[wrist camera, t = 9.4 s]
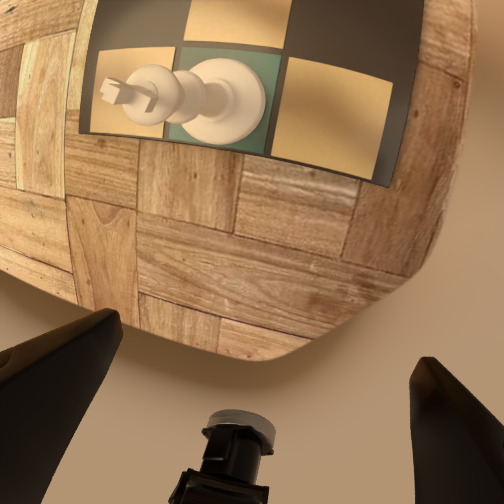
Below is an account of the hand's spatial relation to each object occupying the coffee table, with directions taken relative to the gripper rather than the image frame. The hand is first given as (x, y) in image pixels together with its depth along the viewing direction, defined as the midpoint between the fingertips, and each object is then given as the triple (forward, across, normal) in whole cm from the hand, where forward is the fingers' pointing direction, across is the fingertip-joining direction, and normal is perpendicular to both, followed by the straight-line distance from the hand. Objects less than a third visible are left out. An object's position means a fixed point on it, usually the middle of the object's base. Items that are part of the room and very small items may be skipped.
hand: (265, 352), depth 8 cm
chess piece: (+11, +4, -7) cm, 13 cm away
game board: (+11, +3, -24) cm, 27 cm away
